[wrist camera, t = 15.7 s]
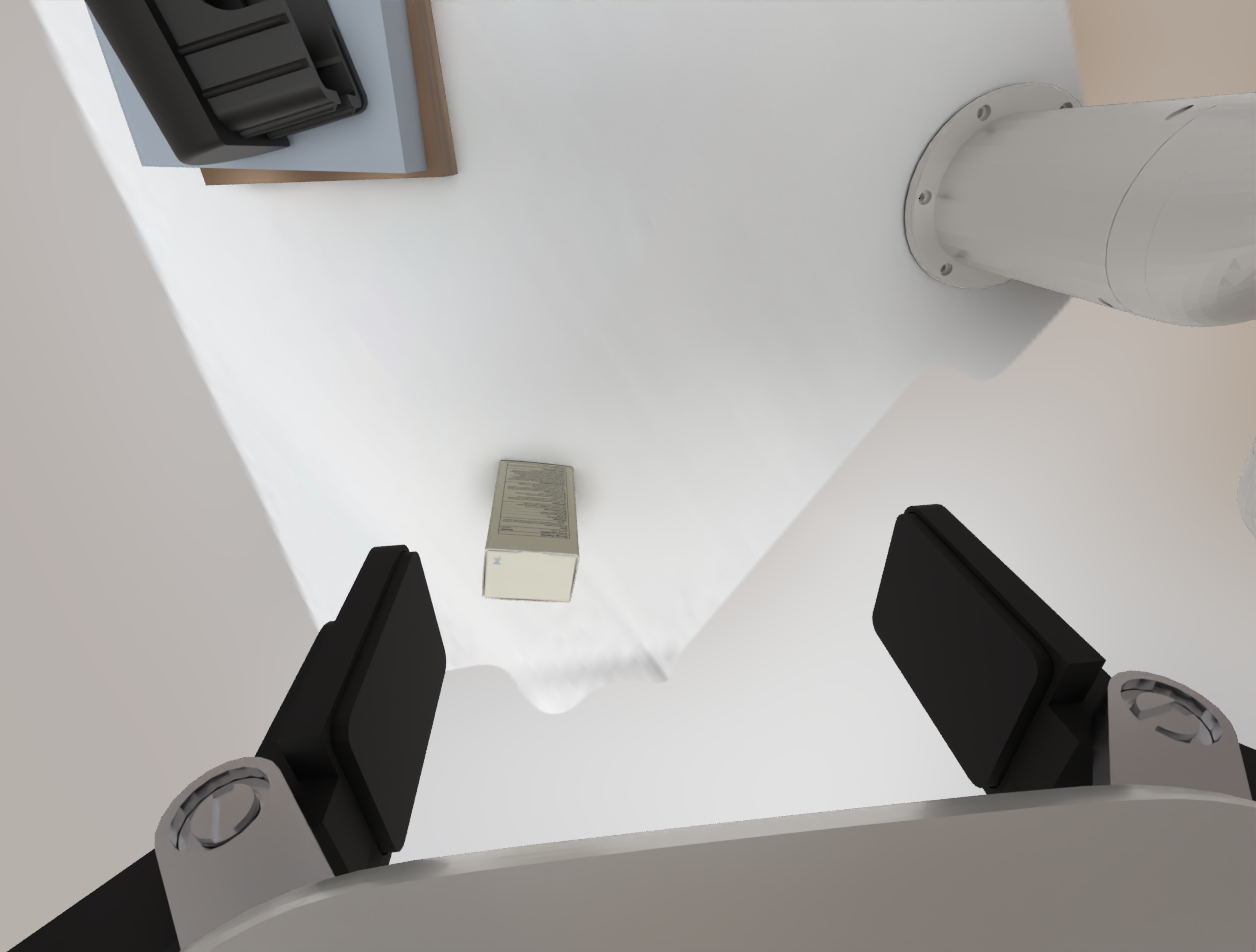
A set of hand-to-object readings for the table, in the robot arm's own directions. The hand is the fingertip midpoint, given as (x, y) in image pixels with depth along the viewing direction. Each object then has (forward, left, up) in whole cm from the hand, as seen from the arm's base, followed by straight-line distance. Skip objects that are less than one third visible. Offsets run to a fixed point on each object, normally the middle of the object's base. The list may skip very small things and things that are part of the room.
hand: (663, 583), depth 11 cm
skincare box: (+6, +17, -34) cm, 38 cm away
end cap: (+15, -13, -24) cm, 31 cm away
